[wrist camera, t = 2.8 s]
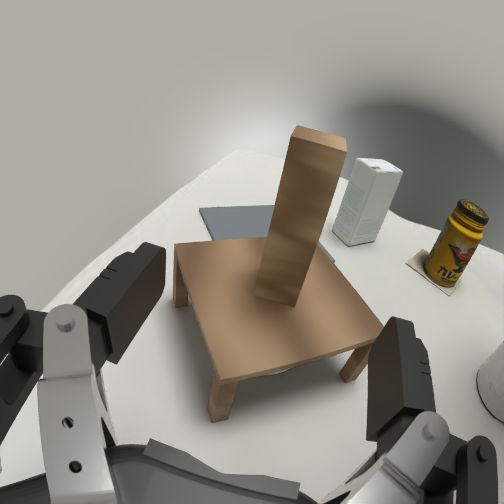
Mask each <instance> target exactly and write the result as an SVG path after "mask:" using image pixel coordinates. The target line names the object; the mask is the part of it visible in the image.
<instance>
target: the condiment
mask: <svg viewBox="0 0 504 504" xmlns="http://www.w3.org/2000/svg"><path fill="white" fill-rule="evenodd" d="M487 222H488V215H487V214H486V213H485V212H484V211H483V210H482V209H481V208H480V207H478V206H477V205H475V204H474V203H471V202H469V201H467V200H459V201H458V203H457V206H456V208H455V209H454V211H453V213H452V214H451V215H449V216H448V218H447V220H446V222H445V225H444V226H443V229H442V231H441V233H440V234H439V237H438V239H437V241H436V243H435V244H434V246H433V248H432V250H431V252H430V254H429V253H428V252H427V251H425V250H424V249H422V250H421V251H420V252H419V253H417V254H416V255H415V256H414V257H413V258H411V259H410V260H409V261H407V262H406V264H408V265H410V266H411V267H412V268H413V269H415V270H417V271H418V272H419V273H420V274H422V275H423V276H424V277H425V278H427V279H428V280H429V281H430V282H431V283H433V284H434V285H436V286H437V287H438V288H439V289H441V290H442V291H443V292H445V293H446V294H448V295H451V294H452V292H453V291H454V289H455V288H456V286H457V285H458V283H459V282H460V280H461V279H462V278H461V277H460V276H461V274H462V273H463V271H464V269H465V267H466V266H467V264H468V262H469V261H470V259H471V257H472V255H473V254H474V252H475V250H476V248H477V246H478V244H479V243H480V241H481V239H482V231H483V230H484V229H485V225H486V224H487ZM420 266H421V267H420Z"/></svg>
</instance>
